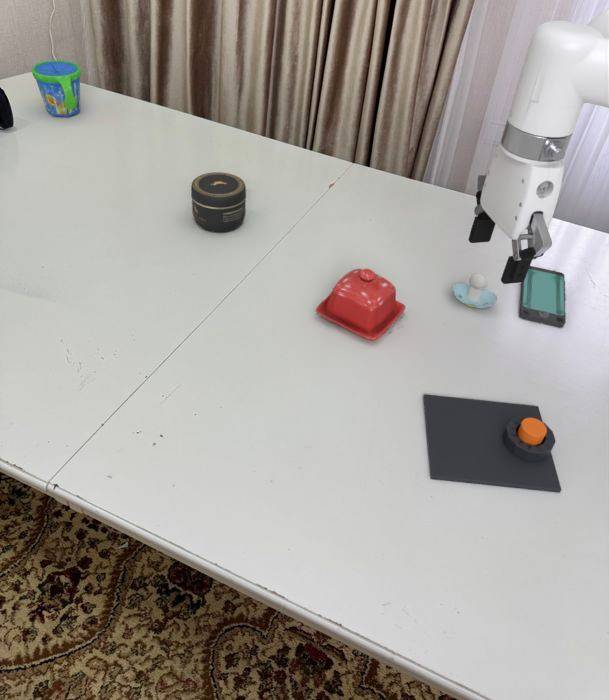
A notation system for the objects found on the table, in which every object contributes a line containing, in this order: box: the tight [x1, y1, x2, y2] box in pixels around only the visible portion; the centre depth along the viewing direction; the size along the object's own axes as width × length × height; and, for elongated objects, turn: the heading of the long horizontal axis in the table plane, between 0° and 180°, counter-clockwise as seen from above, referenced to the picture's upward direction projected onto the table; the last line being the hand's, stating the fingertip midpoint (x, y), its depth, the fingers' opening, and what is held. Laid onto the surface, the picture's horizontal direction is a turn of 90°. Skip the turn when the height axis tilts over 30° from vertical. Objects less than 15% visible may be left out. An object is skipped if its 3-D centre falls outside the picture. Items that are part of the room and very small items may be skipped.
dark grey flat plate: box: [422, 393, 562, 494], centre depth 81 cm, size 16×14×2 cm
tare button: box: [518, 418, 547, 445], centre depth 80 cm, size 3×3×2 cm
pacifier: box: [452, 272, 498, 309], centre depth 103 cm, size 7×6×6 cm
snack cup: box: [31, 59, 82, 118], centre depth 146 cm, size 16×10×10 cm
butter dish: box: [315, 268, 406, 341], centre depth 97 cm, size 12×12×8 cm
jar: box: [190, 171, 247, 234], centre depth 115 cm, size 10×10×8 cm
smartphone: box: [518, 265, 567, 329], centre depth 106 cm, size 7×1×15 cm
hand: (494, 260), depth 85 cm, fingers open, 9 cm apart
